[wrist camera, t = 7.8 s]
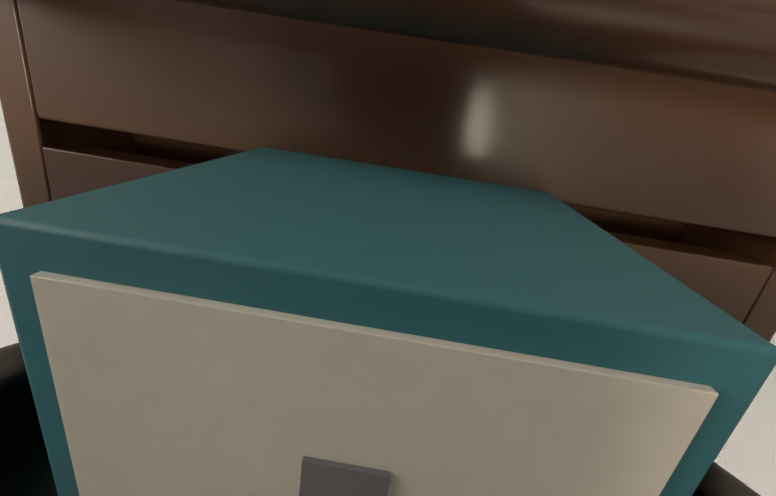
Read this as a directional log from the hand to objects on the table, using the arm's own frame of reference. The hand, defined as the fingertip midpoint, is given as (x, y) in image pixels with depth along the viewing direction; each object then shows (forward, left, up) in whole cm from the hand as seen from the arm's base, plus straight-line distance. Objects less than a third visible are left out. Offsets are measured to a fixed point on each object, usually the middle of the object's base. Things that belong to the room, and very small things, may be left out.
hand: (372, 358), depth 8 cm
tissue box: (0, 0, -1) cm, 1 cm away
